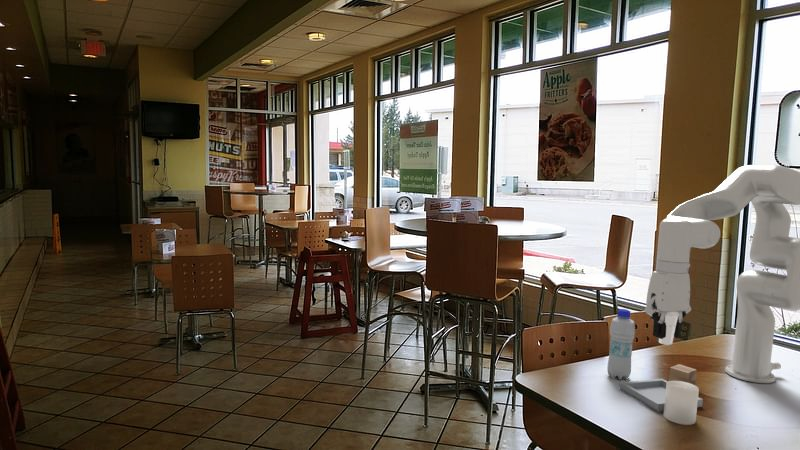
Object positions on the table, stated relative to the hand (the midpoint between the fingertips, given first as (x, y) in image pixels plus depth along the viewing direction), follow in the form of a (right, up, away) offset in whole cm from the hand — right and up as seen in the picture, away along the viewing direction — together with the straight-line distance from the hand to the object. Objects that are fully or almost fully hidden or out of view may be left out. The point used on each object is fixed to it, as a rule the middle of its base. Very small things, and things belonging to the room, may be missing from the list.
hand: (665, 336), depth 145 cm
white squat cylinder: (-1, -18, -10) cm, 20 cm away
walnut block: (+10, -16, +11) cm, 22 cm away
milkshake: (0, -2, 0) cm, 2 cm away
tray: (-1, -17, +2) cm, 17 cm away
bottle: (-6, -15, +16) cm, 23 cm away
